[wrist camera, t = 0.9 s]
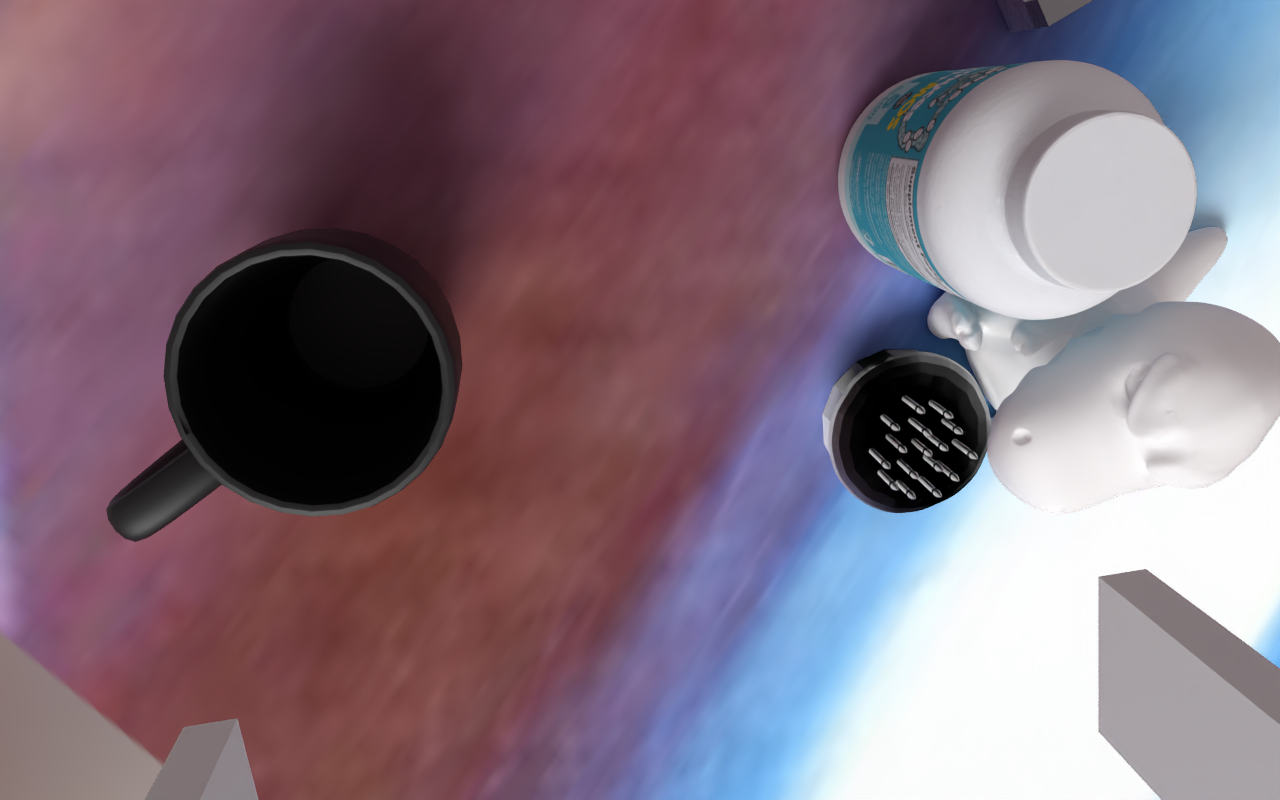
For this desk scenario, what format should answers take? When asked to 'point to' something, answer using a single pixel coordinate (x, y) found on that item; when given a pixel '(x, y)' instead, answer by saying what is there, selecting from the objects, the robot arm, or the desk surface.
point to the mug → (302, 381)
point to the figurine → (1063, 398)
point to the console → (1036, 12)
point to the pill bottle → (1018, 185)
